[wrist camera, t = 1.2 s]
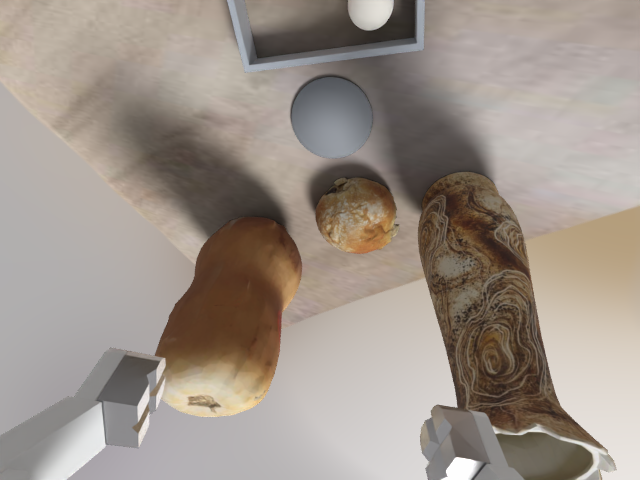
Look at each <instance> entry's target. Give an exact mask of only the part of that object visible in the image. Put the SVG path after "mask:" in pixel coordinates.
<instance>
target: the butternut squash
mask: <svg viewBox="0 0 640 480" xmlns="http://www.w3.org/2000/svg"><path fill="white" fill-rule="evenodd" d="M301 274H302V262H301V257H300V254H299V251H298V248H297V246H296V244H295V242H294V240H293V239H292V238H291V237H290V235H289V234H288V233H287V231H286V228H285V227H284V226H283V225H279V224H277V223H276V222H275V221H274V220H271V219H268V218H264V217H240V218H237V219H235V220H231V221H229V222H228V223H227V224H225V225H224V226H223V227H222V228H220V229H219V230H218V231H217V232H216V233H214V234H213V235H212V236H211V237H210V238H209V239H208V240H207V241H206V243H205V244H204V245H203V247H202V248H201V250H200V253H199V255H198V257H197V261H196V267H195V277H194V280H193V282H192V284H191V286H190V288H189V289H188V290H187V292H186V293H185V294H184V295H183V297H182V298H181V299H180V300H179V301H178V302H177V303H176V304H175V307H174V309H173V311H172V312H171V314H170V315H169V320H168V323H167V325H166V327H165V329H164V332H163V334H162V336H161V339H160V342H159V344H158V348H157V350H156V353H155V356H157V357H162V358H165V363H166V366H165V368H164V371H163V373H162V374H163V375H164V376H165V385H164V391H163V394H162V397H161V399H162V400H163V401H165V402H166V403H167V404H169V405H170V406H172V407H173V408H175V409H177V410H179V411H180V412H183V413H187V414H191V415H196V416H202V417H218V416H229V415H234V414H237V413H239V412H242V411H245V410H248V409H250V408H252V407H254V406H255V405H257V404H258V403H260V402H261V401H262V399H263V398H264V396H265V395H266V393H267V391H268V389H269V386H270V384H271V381H272V379H273V376H274V374H275V370H276V366H277V362H278V357H279V352H280V337H281V335H280V334H281V318H282V316H281V315H282V312H283V311H284V310H285V309H286V307H287V306H288V305H289V303H290V302H291V300H292V299H293V297H294V295H295V293H296V291H297V289H298V287H299V283H300V280H301Z"/></svg>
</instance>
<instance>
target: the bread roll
mask: <svg viewBox="0 0 640 480" xmlns="http://www.w3.org/2000/svg"><path fill="white" fill-rule="evenodd" d="M334 184H335V185H334V186H333V187H331V188H330V189H329V190H328V191H327V192H326V193H325V194H324V195H323V196H322V197H321V199H320V201H319V203H318V205H317V207H316V222H317V226H318V229H319V231H320V232H321V234H322V236H323V237H324V238H325V239H326V241H327V242H329V243H330V244H331V245H332V246H334V247H336V248H337V249H339V250H341V251H345V252H351V253H357V254H363V253H368V252H370V251H373V250H376V249H382V248H383V247H384V246H385V245H387V244H388V243H389V242H391V240H392V239H391V237H392V236H395V235H396V234H397V233H398V230H399V224H398V225H397V224H396V225H395V224H394V222H395V219H396V210H397V208H396V205H395V202H394V198H393V196H392V195H391V193H390V192H389V191H388V189H387V188H386V187H385V186H382V185H381V184H379V183H377V182H376V181H371V180H368V179H365V178H360V177H357V178H351V179H348V180H347V179H346V178H345V177H344V178H340V179H338V180H336V181H335V182H334Z"/></svg>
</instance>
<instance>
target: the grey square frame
mask: <svg viewBox="0 0 640 480" xmlns="http://www.w3.org/2000/svg"><path fill="white" fill-rule="evenodd" d="M227 2H228V6H229V10H230V14H231V18H232V22H233V26H234V30H235V34H236V38H237V42H238V46H239V51H240V55H241V59H242V63H243V67H244V71H245V73H246V72H254V71H262V70H270V69H277V68H285V67H293V66H301V65H309V64H317V63H325V62H333V61H341V60H349V59H356V58H364V57H372V56H380V55H388V54H396V53H404V52H412V51H420V50H424V9H425V0H415V37H414V38H407V39H399V40H392V41H384V42H377V43H369V44H362V45H354V46H347V47H339V48H332V49H324V50H317V51H309V52H302V53H294V54H287V55H279V56H272V57H265V58H257V54H256V50H255V45H254V41H253V36H252V32H251V27H250V23H249V18H248V14H247V9H246V5H245V0H227Z"/></svg>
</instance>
